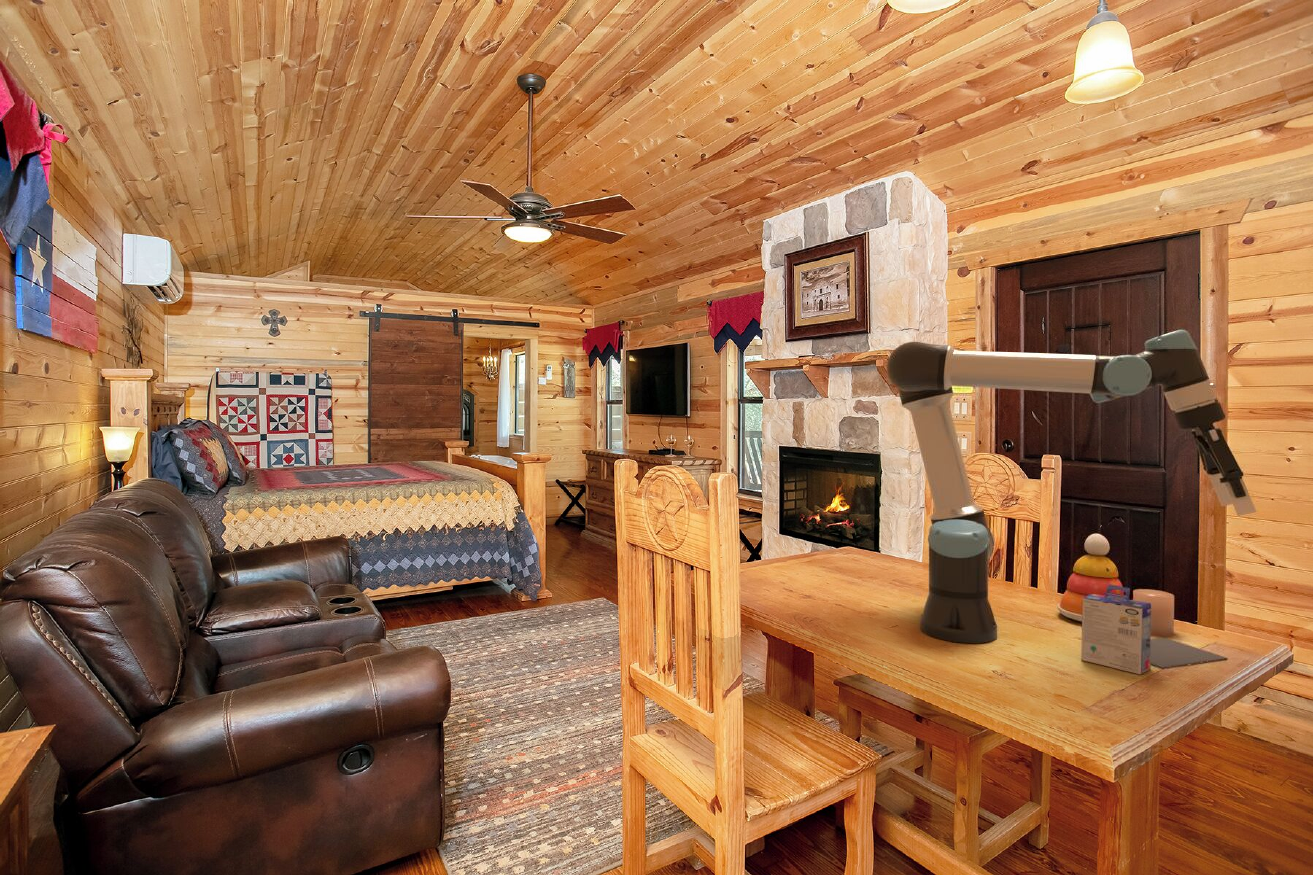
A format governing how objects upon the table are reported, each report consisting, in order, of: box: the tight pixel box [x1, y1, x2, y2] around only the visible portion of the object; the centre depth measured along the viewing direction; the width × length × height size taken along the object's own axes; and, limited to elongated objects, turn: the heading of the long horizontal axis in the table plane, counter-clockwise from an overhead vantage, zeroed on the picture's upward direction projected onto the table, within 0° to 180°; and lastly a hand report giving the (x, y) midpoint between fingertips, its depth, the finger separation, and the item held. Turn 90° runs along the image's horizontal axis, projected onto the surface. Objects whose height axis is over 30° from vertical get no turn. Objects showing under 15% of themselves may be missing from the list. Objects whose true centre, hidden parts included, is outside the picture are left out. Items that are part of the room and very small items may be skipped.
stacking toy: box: [1056, 533, 1125, 623], centre depth 149 cm, size 14×14×20 cm
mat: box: [1151, 636, 1229, 670], centre depth 128 cm, size 12×16×1 cm
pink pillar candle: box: [1132, 588, 1175, 637], centre depth 141 cm, size 7×7×8 cm
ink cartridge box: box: [1080, 585, 1152, 675], centre depth 123 cm, size 10×6×14 cm, turn 39°
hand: (1238, 509), depth 128 cm, fingers open, 13 cm apart
